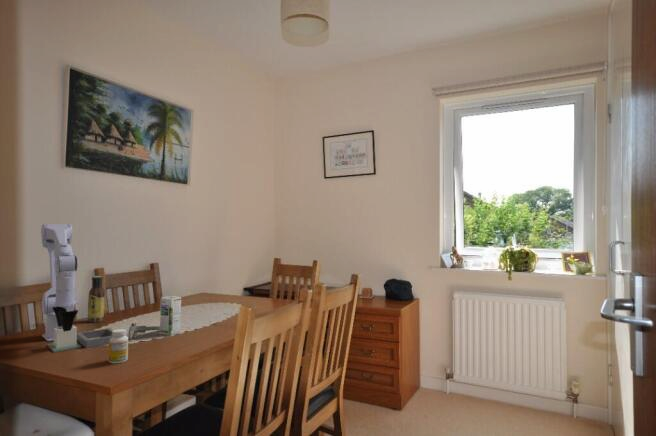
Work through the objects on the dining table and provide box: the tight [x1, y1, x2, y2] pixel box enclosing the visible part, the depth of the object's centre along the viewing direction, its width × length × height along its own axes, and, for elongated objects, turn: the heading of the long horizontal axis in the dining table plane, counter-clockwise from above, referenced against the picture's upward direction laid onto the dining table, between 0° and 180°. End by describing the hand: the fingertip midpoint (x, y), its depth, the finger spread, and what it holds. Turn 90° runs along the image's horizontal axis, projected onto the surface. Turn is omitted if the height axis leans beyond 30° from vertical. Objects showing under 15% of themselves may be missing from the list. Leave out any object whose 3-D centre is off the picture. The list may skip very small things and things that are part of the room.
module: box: [53, 324, 78, 348], centre depth 143 cm, size 4×6×7 cm
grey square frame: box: [77, 327, 114, 349], centre depth 151 cm, size 13×11×2 cm
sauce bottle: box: [87, 275, 106, 323], centre depth 180 cm, size 6×6×20 cm
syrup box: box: [159, 295, 182, 336], centre depth 163 cm, size 6×6×14 cm
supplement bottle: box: [108, 328, 129, 364], centre depth 130 cm, size 5×5×10 cm
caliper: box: [127, 322, 160, 341], centre depth 162 cm, size 20×1×6 cm, turn 156°
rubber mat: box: [47, 342, 82, 353], centre depth 143 cm, size 10×8×1 cm
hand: (64, 328), depth 143 cm, fingers open, 7 cm apart
